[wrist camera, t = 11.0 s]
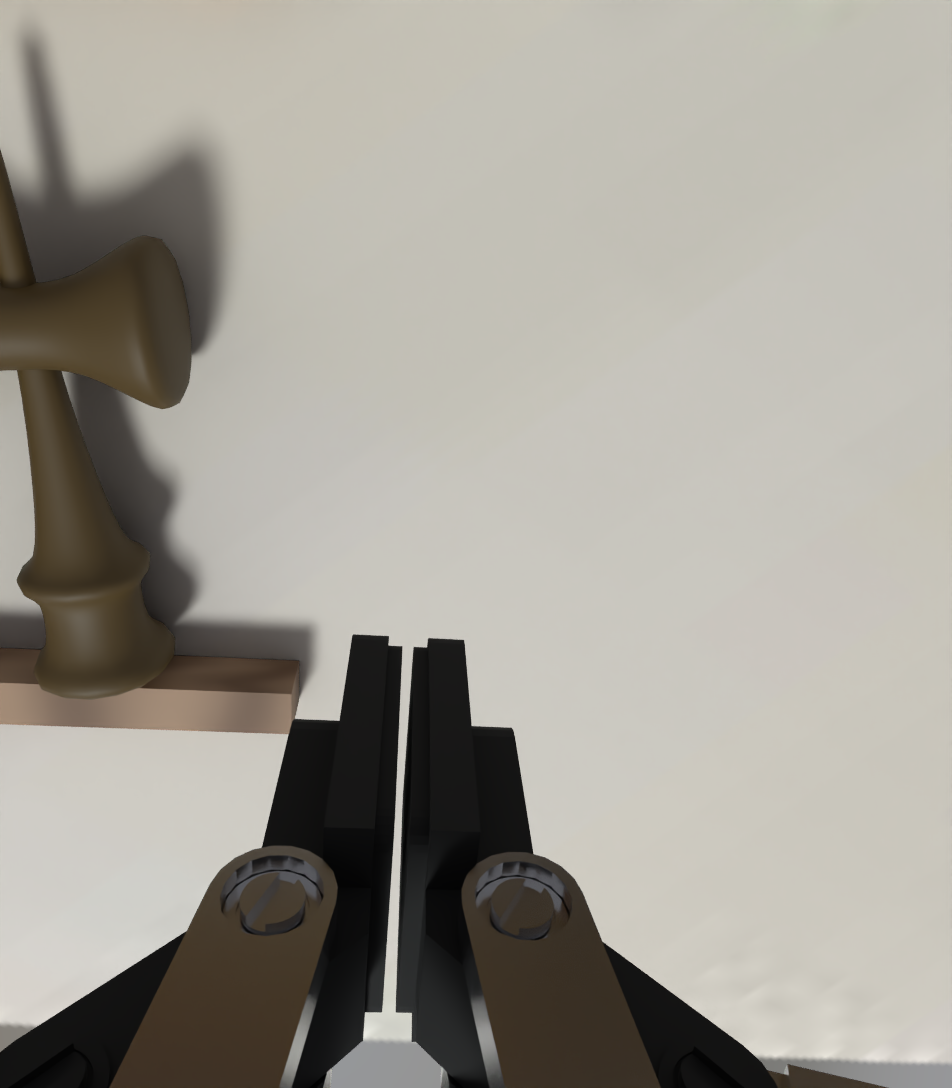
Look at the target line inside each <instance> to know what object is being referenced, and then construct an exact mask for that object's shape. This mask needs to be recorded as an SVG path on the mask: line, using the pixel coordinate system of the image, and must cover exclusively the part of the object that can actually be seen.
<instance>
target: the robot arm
mask: <svg viewBox="0 0 952 1088" xmlns="http://www.w3.org/2000/svg"><path fill="white" fill-rule="evenodd" d="M388 642H389V636H373V635H353V636H352V642H351V649H350V656H349V662H348V669H347V675H346V682H345V689H344V695H343V702H342V709H341V715H340V721H328V720H304V719H294V720H293V721H292V724H291V727H290V731H289V736H288V740H287V744H286V748H285V752H284V757H283V761H282V765H281V769H280V774H279V778H278V782H277V786H276V791H275V795H274V799H273V803H272V807H271V812H270V816H269V820H268V824H267V829H266V833H265V837H264V841H263V846H262V848H259V849H254V850H251V851H249V852H247V853H245V854H243V855H240V856H238V857H236V858H234V859H233V860H232V861H231V862H229V863H228V864H227V865H226V866H224V867H223V868H222V869H220V871H219V872H218V874H217V875H216V876H215V878H214V879H213V881H212V882H211V883H210V885H209V887H208V889H207V891H206V893H205V895H204V897H203V899H202V901H201V903H200V905H199V907H198V909H197V911H196V913H195V915H194V917H193V919H192V922H191V924H190V926H189V928H188V930H187V931H186V932H185V933H183V934H181V935H180V936H178V937H177V938H175V939H174V940H172V941H170V942H169V943H167V944H166V945H164V946H163V947H161V948H159V949H158V950H156V951H155V952H153V953H152V954H150V955H149V956H147V957H145V958H144V959H142V960H141V961H139V962H138V963H136V964H134V965H133V966H131V967H130V968H128V969H127V970H125V971H123V972H122V973H120V974H119V975H117V976H116V977H114V978H113V979H111V980H109V981H108V982H106V983H105V984H103V985H102V986H100V987H98V988H97V989H95V990H94V991H92V992H91V993H89V994H87V995H86V996H84V997H83V998H81V999H80V1000H78V1001H77V1002H75V1003H73V1004H72V1005H70V1006H69V1007H67V1008H66V1009H64V1010H62V1011H61V1012H59V1013H58V1014H56V1015H55V1016H53V1017H51V1018H50V1019H48V1020H47V1021H45V1022H44V1023H42V1024H41V1025H39V1026H37V1027H36V1028H34V1029H33V1030H31V1031H30V1032H28V1033H27V1034H25V1035H23V1036H22V1037H20V1038H19V1039H17V1040H16V1041H14V1042H13V1043H11V1044H10V1045H9V1046H8V1047H6V1048H5V1049H4V1050H3V1051H1V1052H0V1088H330V1085H331V1074H332V1067H333V1066H334V1065H336V1064H337V1063H338V1062H339V1061H340V1060H341V1059H342V1058H343V1057H344V1056H346V1055H347V1054H348V1053H349V1052H350V1051H351V1050H352V1049H354V1048H355V1047H356V1046H357V1045H358V1044H359V1043H360V1042H362V1041H363V1031H364V1017H365V1012H382V1005H383V990H384V975H385V960H386V945H387V930H388V915H389V900H390V885H391V871H392V856H393V840H394V822H395V801H396V779H397V756H398V734H399V711H400V689H401V666H402V646H388ZM396 1012H402V1013H412V1042H417V1043H418V1044H419V1045H420V1046H421V1047H422V1048H423V1049H424V1050H425V1051H426V1052H427V1053H428V1054H429V1055H430V1056H431V1057H432V1058H433V1059H434V1060H435V1061H436V1062H437V1063H438V1064H440V1066H441V1088H887V1087H883V1086H879V1085H875V1084H871V1083H866V1082H862V1081H858V1080H854V1079H849V1078H845V1077H840V1076H836V1075H832V1074H828V1073H824V1072H819V1071H815V1070H811V1069H807V1068H802V1067H798V1066H794V1065H790V1064H787V1066H786V1068H785V1071H784V1074H781V1073H777V1072H773V1071H769V1070H766V1068H765V1067H764V1065H763V1064H762V1062H760V1061H759V1060H758V1059H757V1058H756V1057H755V1056H754V1055H753V1054H752V1053H751V1052H750V1051H749V1050H747V1049H746V1048H745V1047H744V1046H743V1045H742V1044H740V1043H739V1042H738V1041H736V1040H735V1039H734V1038H732V1037H731V1036H729V1035H728V1034H727V1033H725V1032H724V1031H723V1030H721V1029H720V1028H719V1027H717V1026H716V1025H715V1024H713V1023H712V1022H711V1021H709V1020H708V1019H706V1018H705V1017H704V1016H702V1015H701V1014H700V1013H698V1012H697V1011H696V1010H694V1009H693V1008H692V1007H690V1006H689V1005H687V1004H686V1003H685V1002H683V1001H682V1000H681V999H679V998H678V997H677V996H675V995H674V994H673V993H671V992H670V991H668V990H667V989H666V988H664V987H663V986H662V985H660V984H659V983H658V982H656V981H655V980H654V979H652V978H651V977H650V976H648V975H647V974H645V973H644V972H643V971H641V970H640V969H639V968H637V967H636V966H635V965H633V964H632V963H631V962H629V961H628V960H626V959H625V958H624V957H622V956H621V955H620V954H618V953H617V952H616V951H614V950H613V949H612V948H610V947H609V946H607V945H606V944H605V943H603V942H602V940H601V937H600V935H599V932H598V930H597V927H596V925H595V922H594V920H593V917H592V915H591V912H590V910H589V907H588V905H587V902H586V900H585V897H584V895H583V892H582V891H581V889H580V887H579V886H578V884H577V882H576V881H575V879H574V878H573V877H572V876H571V875H570V874H569V873H568V872H567V871H566V870H564V869H563V868H562V867H561V866H560V865H558V864H556V863H554V862H552V861H550V860H549V859H547V858H545V857H542V856H538V855H534V854H533V849H532V842H531V836H530V830H529V823H528V817H527V811H526V805H525V798H524V792H523V786H522V779H521V773H520V767H519V760H518V754H517V748H516V742H515V736H514V732H513V729H512V728H501V727H477V726H471V714H470V702H469V690H468V679H467V667H466V655H465V644H464V640H453V639H433V638H428V645H427V648H423V647H414V650H413V663H412V677H411V691H410V705H409V719H408V733H407V747H406V761H405V775H404V790H403V808H402V837H401V868H400V898H399V928H398V958H397V989H396Z"/></svg>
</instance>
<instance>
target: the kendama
mask: <svg viewBox="0 0 952 1088" xmlns="http://www.w3.org/2000/svg"><path fill="white" fill-rule="evenodd" d="M2 370H17V372H18V378H19V384H20V390H21V396H22V402H23V410H24V417H25V424H26V431H27V439H28V447H29V456H30V465H31V476H32V486H33V499H34V514H35V545H34V552H33V556H32V558H31V559H30V560H29V561H28V562H27V563H26V564H25V565H24V566H23V567H22V569H21V571H20V573H19V576H18V578H17V583H18V585H19V587H20V589H21V591H22V592H23V594H24V595H25V596H26V597H27V598H29V599H31V600H33V601H35V602H36V603H37V604H38V605H39V606H40V607H41V610H42V613H43V617H44V622H45V630H46V645H45V646H44V647H43V648H42V650H41V651H40V653H39V656H38V659H37V662H36V664H35V667H34V675H35V677H36V679H37V681H38V683H39V685H40V688H41V690H44V691H46V692H49V693H52V694H54V695H57V696H60V697H63V698H69V699H85V700H93V699H99V698H105V697H111V696H117V695H120V694H123V693H126V692H128V691H131V690H134V689H137V688H139V687H142V686H143V685H145V684H146V683H148V682H149V681H151V680H152V679H154V678H155V677H157V676H158V675H160V674H161V673H162V672H163V671H164V669H165V668H166V667H167V665H168V664H169V662H170V661H171V660H172V658H173V657H174V650H175V637H174V636H173V635H172V633H171V632H170V631H169V629H168V628H167V627H166V626H165V625H164V623H162V622H160V621H158V620H155V619H153V618H151V617H150V616H149V614H148V612H147V610H146V607H145V604H144V600H143V595H142V589H141V581H142V578H143V577H144V576H145V574H146V573H147V572H148V570H149V565H150V553H149V552H148V551H147V550H146V549H145V548H144V547H143V546H142V545H141V544H140V543H137V542H135V541H133V540H131V539H129V538H128V537H127V536H126V535H125V534H124V532H123V531H122V529H121V528H120V526H119V524H118V522H117V520H116V518H115V516H114V514H113V512H112V510H111V508H110V505H109V503H108V501H107V499H106V496H105V494H104V491H103V489H102V486H101V484H100V481H99V479H98V476H97V474H96V471H95V468H94V466H93V463H92V461H91V458H90V455H89V453H88V450H87V447H86V444H85V442H84V439H83V436H82V433H81V430H80V428H79V425H78V422H77V419H76V416H75V413H74V410H73V407H72V404H71V401H70V398H69V395H68V392H67V388H66V385H65V382H64V379H63V375H62V372H61V371H67V372H72V373H76V374H80V375H84V376H87V377H90V378H92V379H95V380H97V381H99V382H102V383H104V384H106V385H108V386H110V387H112V388H114V389H117V390H119V391H121V392H123V393H125V394H127V395H129V396H131V397H133V398H135V399H137V400H139V401H141V402H143V403H145V404H148V405H150V406H153V407H156V408H160V409H166V408H170V407H172V406H174V405H176V404H178V403H180V401H181V399H182V397H183V396H184V393H185V391H186V389H187V386H188V384H189V378H190V370H191V331H190V321H189V311H188V306H187V301H186V296H185V291H184V286H183V282H182V279H181V276H180V273H179V269H178V266H177V263H176V260H175V258H174V257H173V255H172V254H171V252H170V251H169V249H168V248H167V246H166V245H165V244H164V242H163V241H162V239H158V238H153V237H148V236H140V237H137V238H134V239H132V240H130V241H128V242H127V243H125V244H123V245H121V246H120V247H118V248H117V249H115V250H114V251H112V252H111V253H109V254H108V255H106V256H104V257H103V258H101V259H100V260H98V261H97V262H95V263H94V264H92V265H90V266H89V267H87V268H85V269H83V270H81V271H79V272H78V273H76V274H74V275H71V276H68V277H65V278H62V279H59V280H54V281H48V282H41V283H36V280H35V276H34V272H33V268H32V265H31V261H30V257H29V253H28V250H27V246H26V242H25V238H24V235H23V231H22V227H21V223H20V219H19V216H18V212H17V208H16V204H15V201H14V197H13V193H12V189H11V186H10V182H9V178H8V175H7V171H6V167H5V164H4V160H3V157H2V154H1V150H0V371H2Z"/></svg>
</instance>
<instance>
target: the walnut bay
mask: <svg viewBox="0 0 952 1088" xmlns="http://www.w3.org/2000/svg"><path fill="white" fill-rule="evenodd" d="M40 651H41V650H37V649H14V648H0V724H13V725H42V726H71V727H99V728H128V729H157V730H186V731H215V732H244V733H273V734H289V731H290V727H291V724H292V721H293V720H294V719H295V715H296V711H297V706H298V702H299V661H293V660H269V659H246V658H223V657H200V656H176V655H174V657H173V658H172V660H171V661H170V662H169V664H168V665H167V667H166V668H165V669H164V671H163V672H162V673H161V674H160V675H158V676H157V677H155V678H154V679H152V680H151V681H149V682H148V683H146V684H145V685H143V686H142V687H139V688H137V689H134V690H131V691H128V692H126V693H123V694H120V695H117V696H111V697H105V698H99V699H93V700H85V699H69V698H63V697H60V696H57V695H54V694H52V693H49V692H46V691H44V690H41V688H40V685H39V683H38V681H37V679H36V677H35V675H34V667H35V664H36V662H37V659H38V656H39V653H40Z"/></svg>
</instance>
